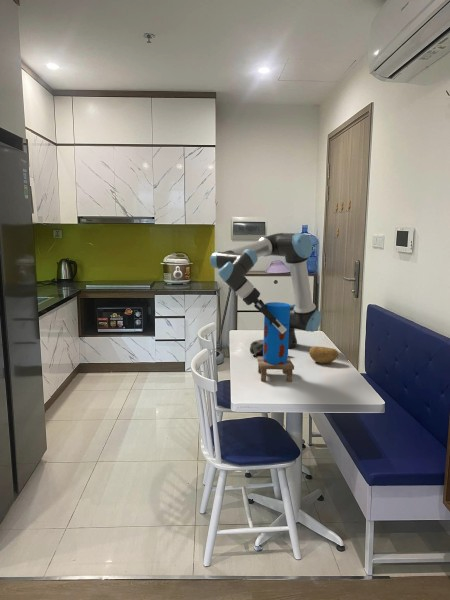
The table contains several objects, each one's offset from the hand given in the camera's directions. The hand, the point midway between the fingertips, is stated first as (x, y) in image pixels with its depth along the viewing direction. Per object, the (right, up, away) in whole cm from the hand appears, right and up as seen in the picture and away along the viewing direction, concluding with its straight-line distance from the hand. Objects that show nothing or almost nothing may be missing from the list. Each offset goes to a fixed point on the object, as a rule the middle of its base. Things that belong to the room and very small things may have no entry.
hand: (281, 328), depth 187 cm
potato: (+23, -19, +25) cm, 39 cm away
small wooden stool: (-3, -21, +3) cm, 22 cm away
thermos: (-3, -15, +2) cm, 15 cm away
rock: (-2, -17, +35) cm, 39 cm away
